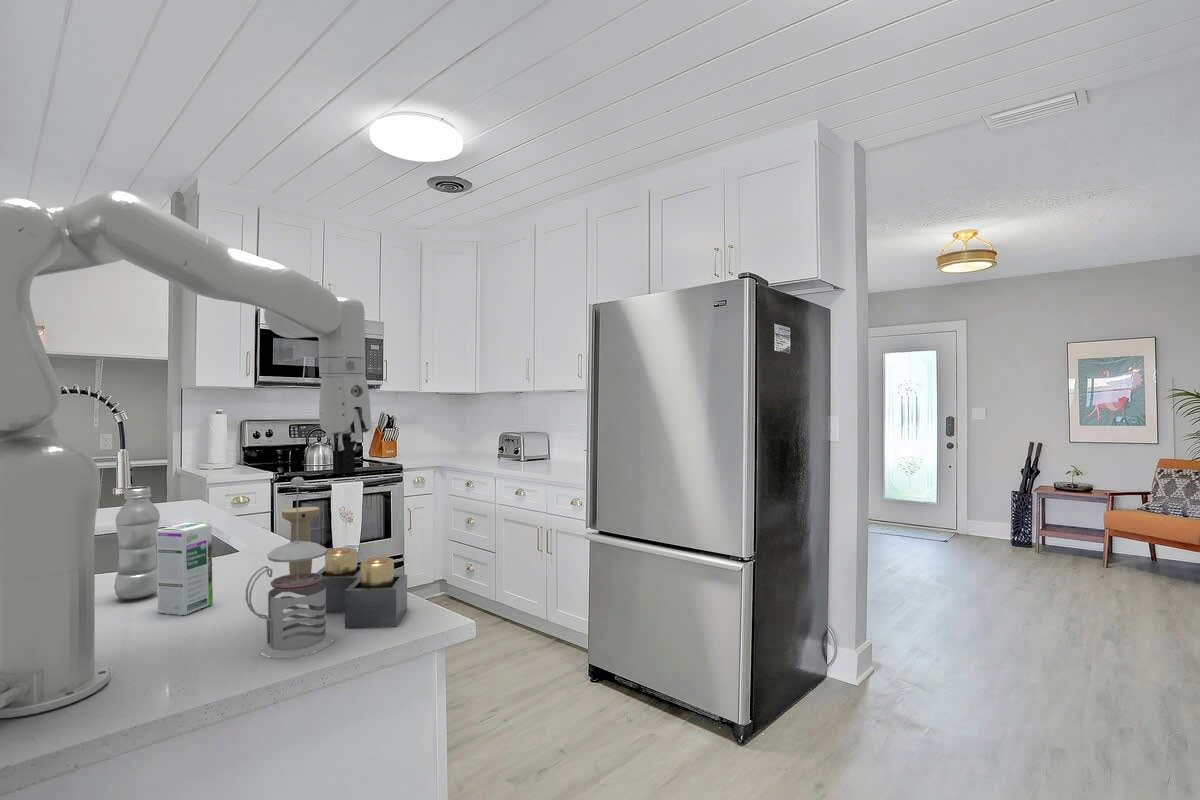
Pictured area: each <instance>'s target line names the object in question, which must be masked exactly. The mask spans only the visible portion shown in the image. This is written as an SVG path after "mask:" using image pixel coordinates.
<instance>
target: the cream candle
mask: <svg viewBox="0 0 1200 800" xmlns="http://www.w3.org/2000/svg"><path fill="white" fill-rule="evenodd" d="M357 565H358V549H357V548H354V547H353V548H352V547H341V548H339V547H338V548H333V549H328V550H327V552H326V554H325V555H324V566H325V577H329V576H354V575H355V574H356V573H357Z"/></svg>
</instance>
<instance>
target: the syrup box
mask: <svg viewBox="0 0 1200 800" xmlns="http://www.w3.org/2000/svg"><path fill="white" fill-rule="evenodd" d="M212 533H213V531H212V524H211V523H207V522H199V521H198V522H197V521H196V522H194V521H193V522H183V523H181V524H177V525H173V526H168V527H164V528H158V530H157V531H156V534H157V539H156V560H157V588H158V589H157V612H158V613H159V614H162V613H167V614H166V615H169V614H178V615H177V616H182V615H186V616H188V615H189V614H192V613H193V612H197V611H199V610H201V608H202V609H204V608H207V607H210V606H212V605H213V603H214V602H213V601H214V599H213V598H214V597H213V549H212V548H213V547H212V545H213V539H212V538H213V537H212V536H213V535H212ZM196 610H197V611H196ZM187 614H188V615H187Z"/></svg>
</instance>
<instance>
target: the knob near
mask: <svg viewBox="0 0 1200 800" xmlns="http://www.w3.org/2000/svg"><path fill="white" fill-rule="evenodd" d="M360 565H361V588H392V586H393V585H394V575H395V559H393V558H391V557H384V556H380V557H371V558H366V559H364V560H362V561H360Z"/></svg>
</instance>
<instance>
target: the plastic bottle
mask: <svg viewBox="0 0 1200 800" xmlns="http://www.w3.org/2000/svg"><path fill="white" fill-rule="evenodd" d="M151 497H152V494H151V486H148V485H147V486H145V485H144V486H131V487H127V488H126V487H125V489H124V500H126V502H125V503H124V504H123V505H122V507H121V508H120V509H119V511H118V512H117V514H116V517H115V526H116V527H115V528H116V533H117V540H118V555H119V556H118V563H117V574H116V576H115V579H114V580H115V581H114V586H113V587H114V593H115V596H116V597H117V598H118V599H120V600H137V599H138V598H139V599H142V598H145V597H150V596H151V595H154V594H155V593H156V592H157V591H158V588H157V534H156V531H157V530H158V529H159V525H160V519H161V513H160V511H159V509H158V507H156V505H155V504H154V503H153V502H152V501H151V500H150V498H151Z"/></svg>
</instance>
